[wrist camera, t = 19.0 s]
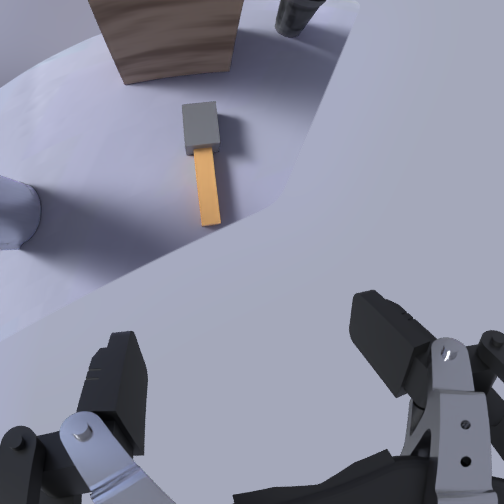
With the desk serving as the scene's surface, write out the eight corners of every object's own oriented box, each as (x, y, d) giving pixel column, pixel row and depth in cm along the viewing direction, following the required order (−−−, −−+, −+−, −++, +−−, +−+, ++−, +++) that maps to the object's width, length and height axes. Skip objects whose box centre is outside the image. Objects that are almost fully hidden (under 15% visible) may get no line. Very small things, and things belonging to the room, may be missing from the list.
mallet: (227, 223, 40) (229, 221, 36) (194, 227, 39) (193, 225, 35) (214, 113, 39) (215, 101, 35) (183, 116, 38) (181, 104, 34)
